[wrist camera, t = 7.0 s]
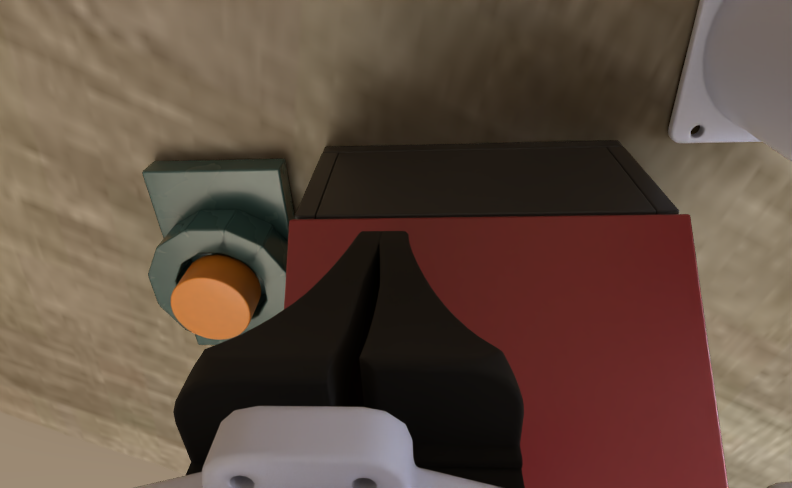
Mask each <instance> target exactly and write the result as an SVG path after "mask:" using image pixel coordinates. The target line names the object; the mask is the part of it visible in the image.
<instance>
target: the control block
mask: <svg viewBox="0 0 792 488" xmlns="http://www.w3.org/2000/svg"><path fill="white" fill-rule="evenodd" d="M142 174H143V177H144V180H145V183H146V186H147V189H148V192H149V195H150V198H151V201H152V204H153V207H154V210H155V213H156V217H157V220H158V223H159V226H160V229H161V232H162V235H163V238H164V239H163V240H162V241H161V243H160V244H159V245H158V246H157V248H156V251H155V254H154V257H153V260H152V263H151V266H150V269H149V273H148V275H149V279H150V282H151V285H152V288H153V290H154V293H155V296H156V299H157V301H158V304H159V305H160V307H162V308H163V309H164V310H165V311H166V312H167V313H168V314H169V315H170V316H171V317H172V318H173V319H174V320H176V321H177V322H178V323H179V324H180V325H181V326H182V327H183V328H185V327H184V326H183V325H182V324H181V323H180V322H179V321H178V320H177V318H176V317H175V315H174V313H173V311H172V308H171V295H172V292H173V290H174V288H175V287H176V285H177V284H178V283H179V281H180V280H181V278H182V277H183V275H184V274H185V272H186V271H187V269H188V268H189V266H190V265H191V264H192V263H193V262H194V261H195V260H197V259H199V258H201V257H204V256H208V255H225V256H229V257H232V258H235V259H237V260H239V261H241V262H242V263H244V264H245V265H247V266H248V267H249V268H250V269H251V270H252V271H253V272H254V273H255V275H256V276H257V278H258V280H259V283H260V286H261V297H260V300H259V302H258V305H257V307H256V309H255V312H254V314H253V316H252V318H251V321H250V323H249V325H248V327H247V328H246V329H245V330H244V331H243V332H242V333H241V334H243V333H245V332H247V331H249V330H251V329H253V328H254V327H256V326H258V325H260V324H262V323H264V322H265V321H267V320H269V319H270V318H272V317H274V316H275V315H277V314H278V313H280V312H281V311H283V310H284V301H285V284H286V267H287V250H288V233H289V221H290V220H292V219H295V216H294V210H293V204H292V198H291V192H290V186H289V180H288V174H287V168H286V162H285V159H244V160H196V161H154V162H153V163H151V164H150V165H149V166H148V167H147V168H146V169H145V170H144V171H143V172H142ZM185 330H187V331H189V330H188V329H187V328H185ZM190 332H191V331H190ZM241 334H239V335H241ZM195 336H196V339H197V342H198V344H199V345H217V344H220V343H222V342H224V341H227V340H229V339H232V338H229V339H221V340H217V339H209V338H205V337H202V336H199V335H197V334H195ZM237 336H238V335H237ZM235 337H236V336H235ZM233 338H234V337H233Z"/></svg>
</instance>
